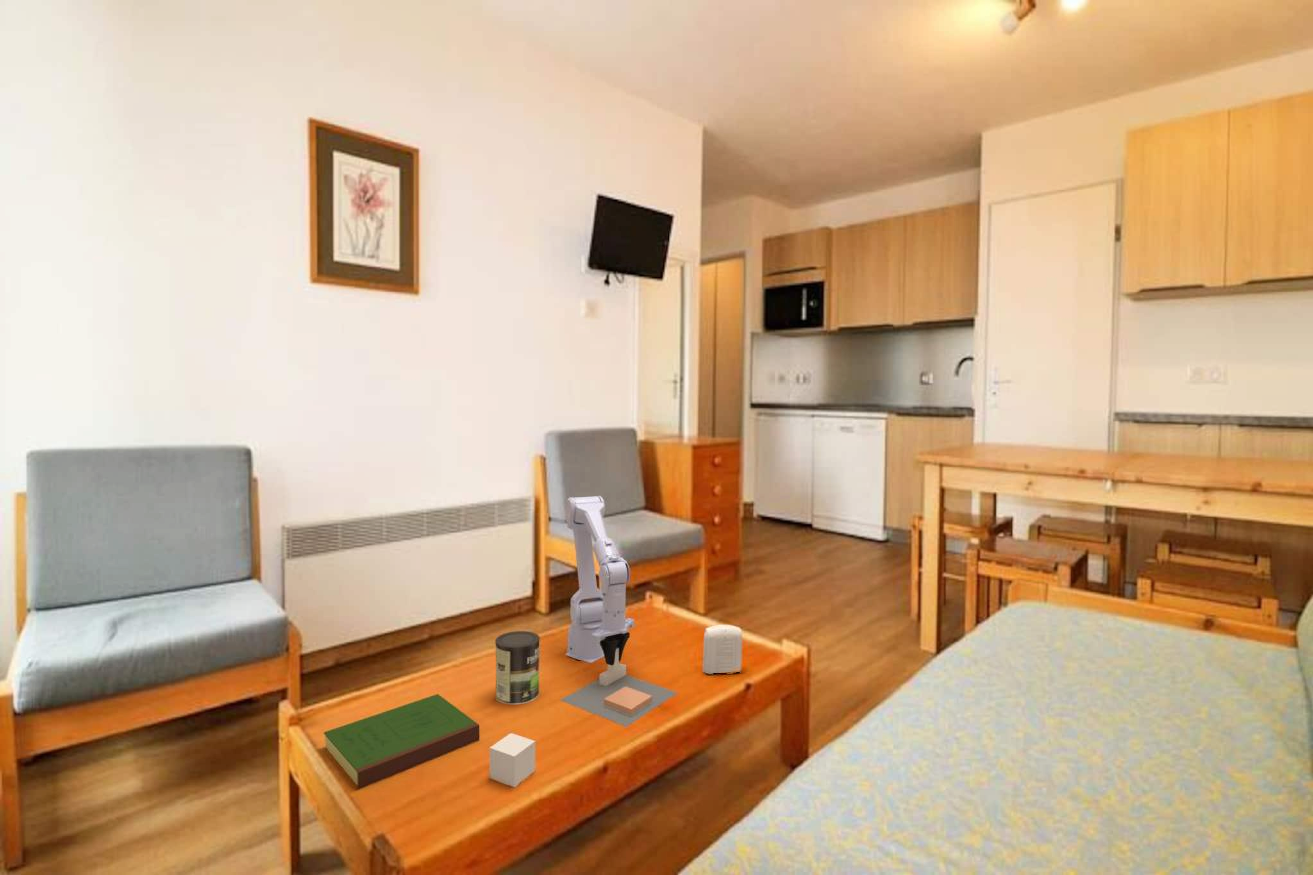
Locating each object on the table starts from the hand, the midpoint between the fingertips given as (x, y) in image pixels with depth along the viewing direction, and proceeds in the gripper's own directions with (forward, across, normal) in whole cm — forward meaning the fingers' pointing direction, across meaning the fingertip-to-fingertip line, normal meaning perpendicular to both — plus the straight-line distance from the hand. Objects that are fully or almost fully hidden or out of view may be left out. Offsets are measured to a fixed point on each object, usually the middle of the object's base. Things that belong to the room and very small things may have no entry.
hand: (613, 662), depth 161 cm
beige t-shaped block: (+4, 0, 0) cm, 4 cm away
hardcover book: (+6, -48, +16) cm, 51 cm away
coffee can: (+5, -20, +13) cm, 24 cm away
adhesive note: (+5, -42, -10) cm, 43 cm away
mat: (+5, -6, -7) cm, 10 cm away
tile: (+3, -8, -7) cm, 11 cm away
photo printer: (+5, +22, -19) cm, 30 cm away
